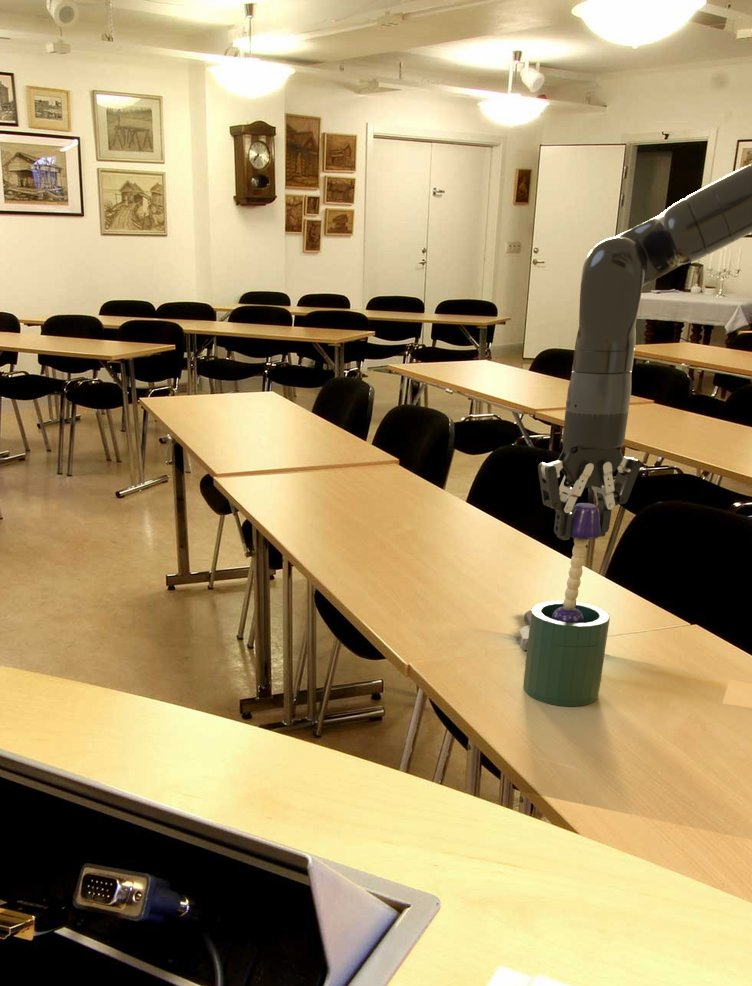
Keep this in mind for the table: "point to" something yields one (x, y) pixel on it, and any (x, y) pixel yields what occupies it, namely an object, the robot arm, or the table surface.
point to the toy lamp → (578, 558)
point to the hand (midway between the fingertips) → (580, 536)
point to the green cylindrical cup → (565, 655)
